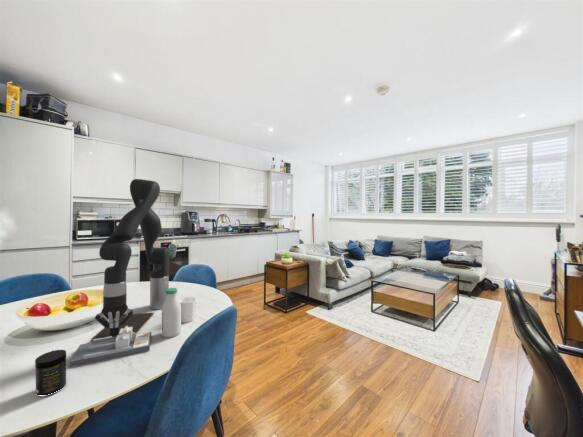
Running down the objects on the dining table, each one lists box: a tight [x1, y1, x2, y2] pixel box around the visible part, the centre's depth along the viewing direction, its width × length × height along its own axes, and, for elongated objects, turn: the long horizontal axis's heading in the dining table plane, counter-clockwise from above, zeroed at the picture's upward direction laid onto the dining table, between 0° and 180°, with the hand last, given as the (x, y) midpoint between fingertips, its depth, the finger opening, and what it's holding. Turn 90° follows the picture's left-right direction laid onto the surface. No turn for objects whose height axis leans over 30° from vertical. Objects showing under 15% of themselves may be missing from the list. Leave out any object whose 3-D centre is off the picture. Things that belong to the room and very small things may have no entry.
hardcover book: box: [91, 312, 155, 343], centre depth 113 cm, size 16×23×2 cm
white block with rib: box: [115, 333, 130, 349], centre depth 94 cm, size 4×4×4 cm
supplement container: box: [34, 349, 67, 396], centre depth 74 cm, size 7×7×10 cm
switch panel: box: [68, 331, 152, 368], centre depth 95 cm, size 12×24×3 cm, turn 117°
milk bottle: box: [161, 287, 182, 338], centre depth 108 cm, size 8×8×20 cm
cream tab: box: [119, 326, 132, 339], centre depth 99 cm, size 4×4×4 cm
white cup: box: [178, 296, 197, 323], centre depth 122 cm, size 8×8×10 cm
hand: (114, 335), depth 97 cm, fingers closed
